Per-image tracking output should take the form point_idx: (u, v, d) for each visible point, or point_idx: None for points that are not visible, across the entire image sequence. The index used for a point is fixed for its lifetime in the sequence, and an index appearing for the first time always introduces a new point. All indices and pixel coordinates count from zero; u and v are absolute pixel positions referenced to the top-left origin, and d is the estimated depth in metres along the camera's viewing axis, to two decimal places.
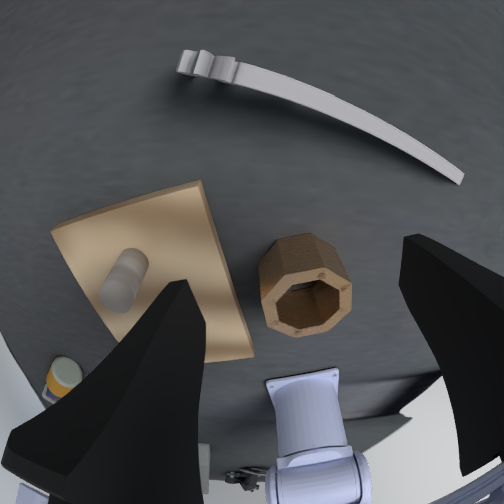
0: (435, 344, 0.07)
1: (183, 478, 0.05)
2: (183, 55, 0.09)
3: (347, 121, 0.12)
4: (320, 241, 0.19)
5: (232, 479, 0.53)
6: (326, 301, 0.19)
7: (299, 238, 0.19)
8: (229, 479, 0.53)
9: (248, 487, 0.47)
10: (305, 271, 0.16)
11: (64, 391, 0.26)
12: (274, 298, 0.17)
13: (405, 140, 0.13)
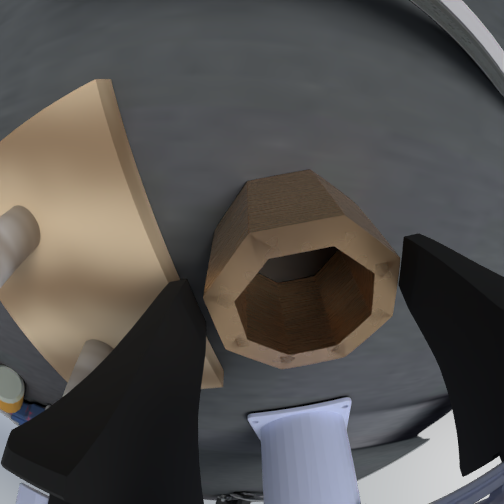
0: (435, 344, 0.07)
1: (183, 478, 0.05)
2: None
3: None
4: (329, 184, 0.10)
5: (223, 502, 0.44)
6: (342, 300, 0.10)
7: (288, 177, 0.10)
8: (219, 503, 0.43)
9: None
10: (300, 224, 0.07)
11: (6, 406, 0.16)
12: (231, 291, 0.08)
13: (459, 4, 0.04)
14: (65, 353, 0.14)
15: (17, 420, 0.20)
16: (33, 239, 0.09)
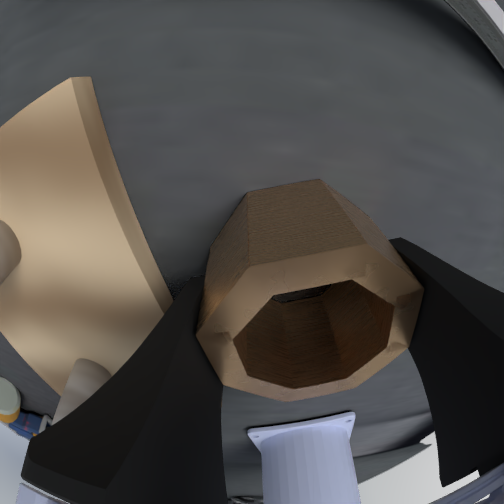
0: (415, 351, 0.07)
1: (210, 479, 0.05)
2: None
3: None
4: (341, 197, 0.08)
5: None
6: (353, 327, 0.09)
7: (294, 188, 0.08)
8: None
9: None
10: (312, 255, 0.05)
11: (3, 417, 0.15)
12: (228, 329, 0.06)
13: None
14: (56, 369, 0.13)
15: (15, 429, 0.19)
16: (13, 257, 0.08)
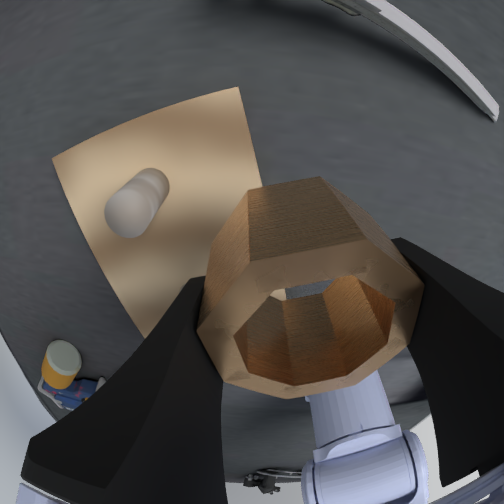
0: (416, 351, 0.07)
1: (210, 479, 0.05)
2: None
3: (398, 24, 0.09)
4: (342, 194, 0.08)
5: (250, 482, 0.50)
6: (354, 324, 0.09)
7: (294, 186, 0.08)
8: (247, 482, 0.50)
9: (265, 490, 0.44)
10: (313, 250, 0.05)
11: (61, 380, 0.23)
12: (229, 325, 0.06)
13: (449, 57, 0.10)
14: (154, 302, 0.20)
15: (62, 399, 0.27)
16: (166, 193, 0.15)
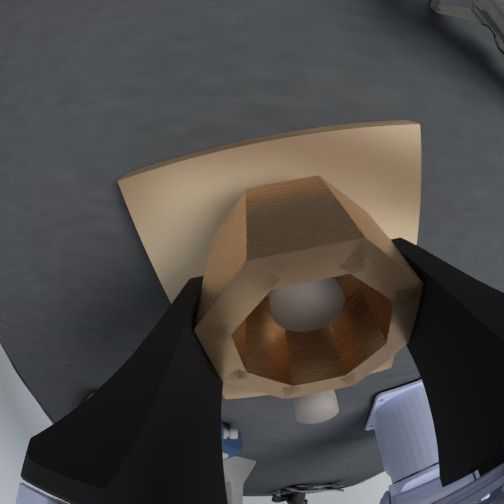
0: (416, 351, 0.07)
1: (210, 479, 0.05)
2: None
3: None
4: (340, 193, 0.08)
5: (279, 497, 0.48)
6: (353, 323, 0.09)
7: (293, 184, 0.08)
8: (276, 498, 0.47)
9: None
10: (311, 249, 0.05)
11: None
12: (227, 324, 0.06)
13: None
14: None
15: None
16: None
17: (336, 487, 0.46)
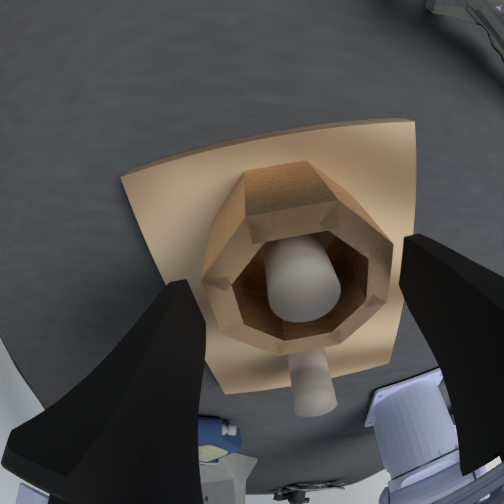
0: (435, 344, 0.07)
1: (183, 478, 0.05)
2: None
3: None
4: (325, 175, 0.10)
5: (280, 496, 0.48)
6: None
7: (284, 167, 0.10)
8: (277, 496, 0.48)
9: None
10: (295, 208, 0.07)
11: None
12: (228, 274, 0.08)
13: None
14: (252, 359, 0.16)
15: None
16: None
17: (337, 485, 0.46)
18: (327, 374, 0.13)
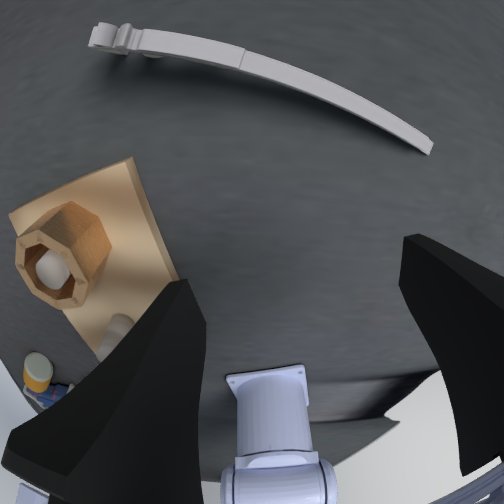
0: (435, 344, 0.07)
1: (183, 478, 0.05)
2: (93, 31, 0.08)
3: (266, 75, 0.11)
4: (76, 208, 0.15)
5: None
6: None
7: (58, 207, 0.15)
8: None
9: None
10: (27, 234, 0.12)
11: (37, 385, 0.25)
12: (21, 262, 0.13)
13: (344, 96, 0.12)
14: (95, 326, 0.22)
15: (42, 400, 0.29)
16: None
17: None
18: (120, 338, 0.19)
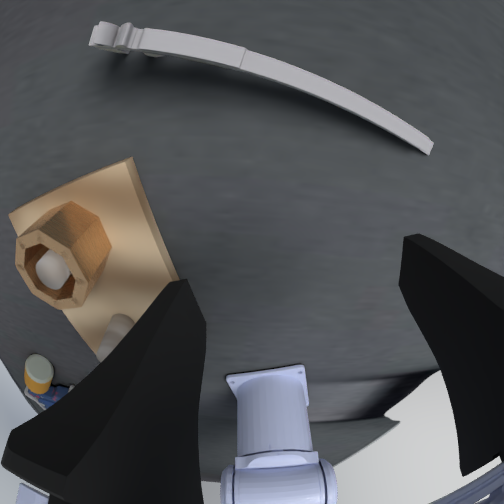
0: (435, 344, 0.07)
1: (183, 478, 0.05)
2: (94, 30, 0.08)
3: (266, 75, 0.11)
4: (76, 208, 0.15)
5: None
6: None
7: (58, 207, 0.15)
8: None
9: None
10: (27, 234, 0.12)
11: (38, 387, 0.25)
12: (21, 262, 0.13)
13: (345, 95, 0.12)
14: (95, 326, 0.22)
15: (43, 402, 0.30)
16: None
17: None
18: (120, 338, 0.19)
